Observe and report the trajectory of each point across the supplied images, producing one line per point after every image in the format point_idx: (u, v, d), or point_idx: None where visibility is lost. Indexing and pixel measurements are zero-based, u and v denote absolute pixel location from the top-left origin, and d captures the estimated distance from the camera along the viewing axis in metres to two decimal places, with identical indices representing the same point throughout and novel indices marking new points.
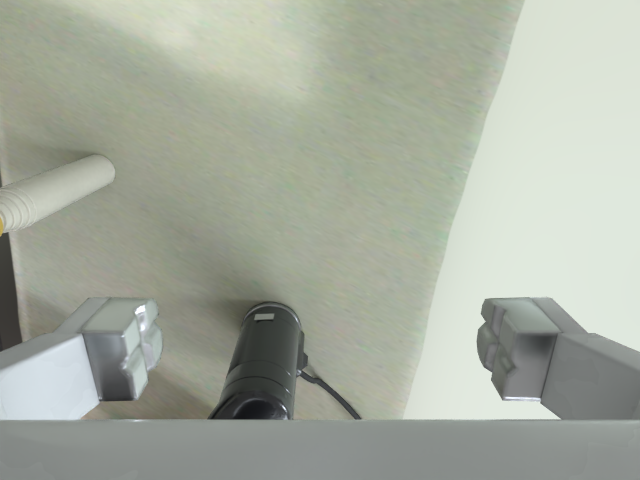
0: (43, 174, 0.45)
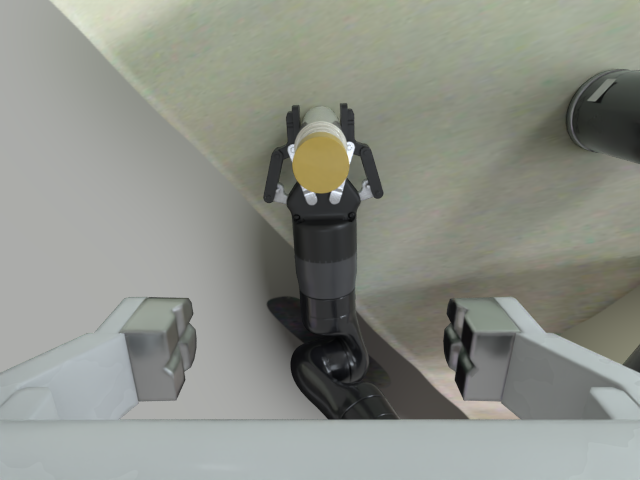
0: (304, 122, 0.39)
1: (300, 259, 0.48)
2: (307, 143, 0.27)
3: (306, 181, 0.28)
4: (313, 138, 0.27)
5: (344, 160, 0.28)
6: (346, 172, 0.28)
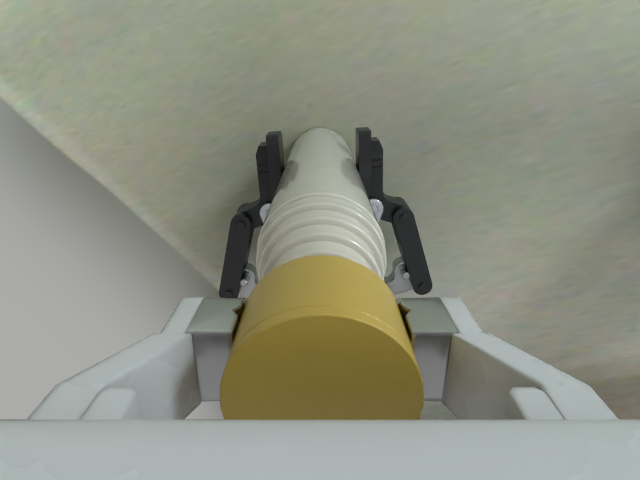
0: (286, 174, 0.18)
1: None
2: (271, 336, 0.07)
3: None
4: (293, 319, 0.07)
5: (407, 387, 0.08)
6: None
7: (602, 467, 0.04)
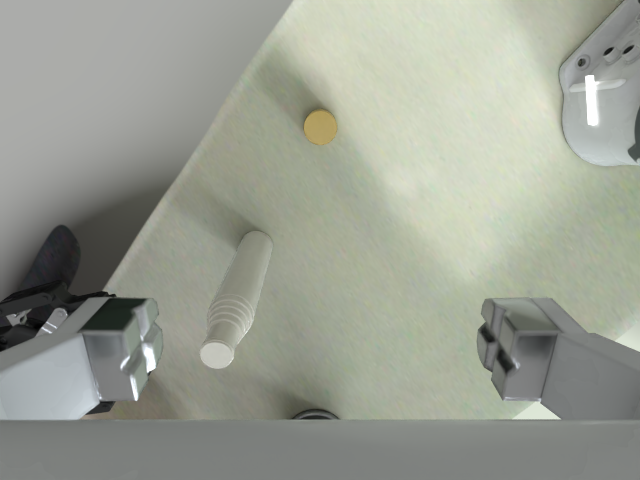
0: (251, 273, 0.44)
1: None
2: (323, 112, 0.47)
3: (307, 129, 0.48)
4: (328, 113, 0.47)
5: (332, 135, 0.48)
6: (328, 141, 0.49)
7: (602, 467, 0.04)
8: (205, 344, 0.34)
